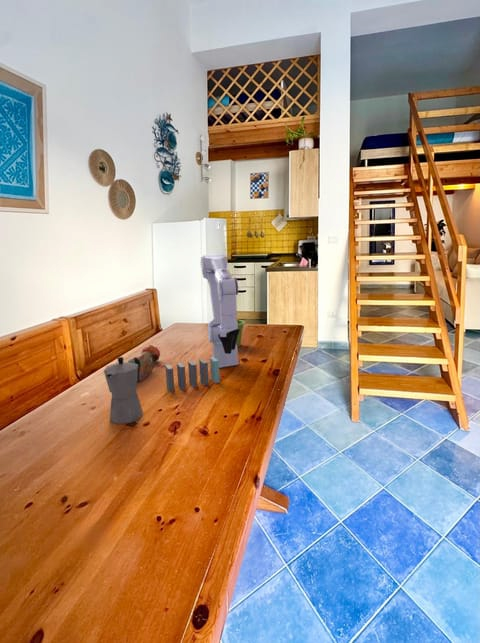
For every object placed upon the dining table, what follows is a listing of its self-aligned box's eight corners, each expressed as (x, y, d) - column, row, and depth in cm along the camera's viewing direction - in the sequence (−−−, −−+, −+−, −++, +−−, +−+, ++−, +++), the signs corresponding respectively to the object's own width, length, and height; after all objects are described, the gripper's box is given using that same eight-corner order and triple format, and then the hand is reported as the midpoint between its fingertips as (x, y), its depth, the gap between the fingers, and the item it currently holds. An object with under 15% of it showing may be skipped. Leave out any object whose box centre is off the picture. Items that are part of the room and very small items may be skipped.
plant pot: (234, 341, 183) (233, 318, 180) (250, 346, 174) (250, 322, 171) (214, 346, 175) (213, 322, 173) (230, 351, 166) (229, 326, 164)
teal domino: (215, 378, 136) (214, 357, 134) (219, 382, 132) (218, 360, 130) (210, 378, 136) (209, 357, 134) (215, 383, 132) (214, 361, 130)
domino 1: (171, 386, 130) (169, 364, 128) (174, 391, 126) (173, 368, 124) (166, 387, 130) (165, 365, 128) (169, 391, 126) (168, 369, 124)
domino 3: (193, 382, 133) (192, 360, 131) (197, 386, 129) (196, 364, 127) (189, 383, 133) (188, 361, 131) (193, 387, 129) (191, 365, 127)
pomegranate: (161, 368, 154) (163, 348, 160) (156, 359, 148) (158, 338, 155) (143, 371, 154) (146, 351, 161) (137, 361, 149) (140, 340, 155)
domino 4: (204, 380, 135) (203, 358, 133) (208, 384, 131) (207, 362, 129) (200, 380, 134) (199, 359, 132) (204, 385, 130) (203, 363, 128)
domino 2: (182, 384, 132) (181, 362, 130) (186, 388, 128) (184, 366, 126) (178, 385, 131) (176, 363, 129) (181, 389, 127) (180, 367, 125)
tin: (137, 384, 133) (135, 361, 131) (129, 383, 134) (126, 361, 132) (154, 369, 147) (153, 348, 146) (147, 368, 148) (145, 348, 146)
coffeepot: (127, 429, 102) (120, 366, 98) (98, 425, 104) (90, 363, 100) (156, 405, 116) (151, 349, 112) (129, 402, 119) (124, 347, 115)
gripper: (224, 309, 139) (225, 344, 142) (210, 318, 125) (212, 357, 128) (242, 309, 137) (243, 345, 140) (230, 318, 123) (232, 358, 126)
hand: (229, 351), depth 134 cm, fingers open, 4 cm apart
